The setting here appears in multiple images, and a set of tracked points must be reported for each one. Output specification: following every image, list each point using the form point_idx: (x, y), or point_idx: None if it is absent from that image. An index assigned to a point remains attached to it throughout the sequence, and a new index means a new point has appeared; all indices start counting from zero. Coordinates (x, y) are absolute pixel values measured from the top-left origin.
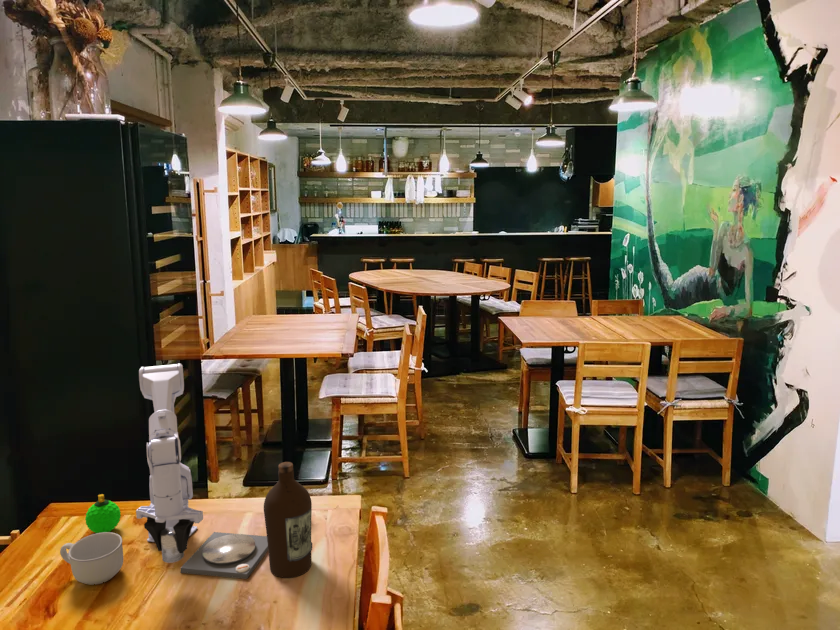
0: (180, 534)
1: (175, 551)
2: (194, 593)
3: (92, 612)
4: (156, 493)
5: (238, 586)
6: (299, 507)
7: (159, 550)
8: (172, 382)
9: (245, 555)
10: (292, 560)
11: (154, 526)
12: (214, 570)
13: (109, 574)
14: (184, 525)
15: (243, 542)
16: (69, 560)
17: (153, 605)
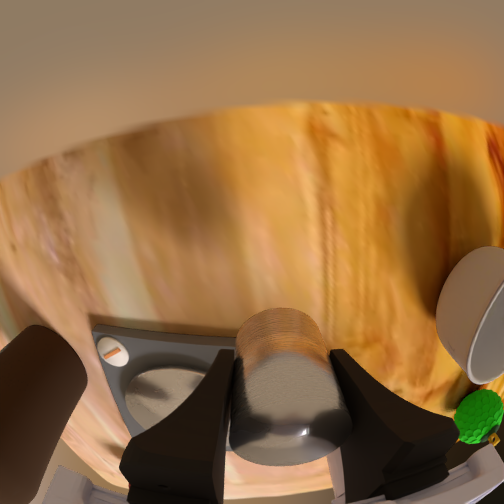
0: (182, 421)
1: (247, 349)
2: (190, 255)
3: (432, 148)
4: None
5: (97, 295)
6: None
7: (338, 350)
8: None
9: (127, 389)
10: (6, 345)
11: (394, 448)
12: (177, 345)
13: (454, 276)
14: (132, 475)
15: None
16: None
17: (287, 184)
